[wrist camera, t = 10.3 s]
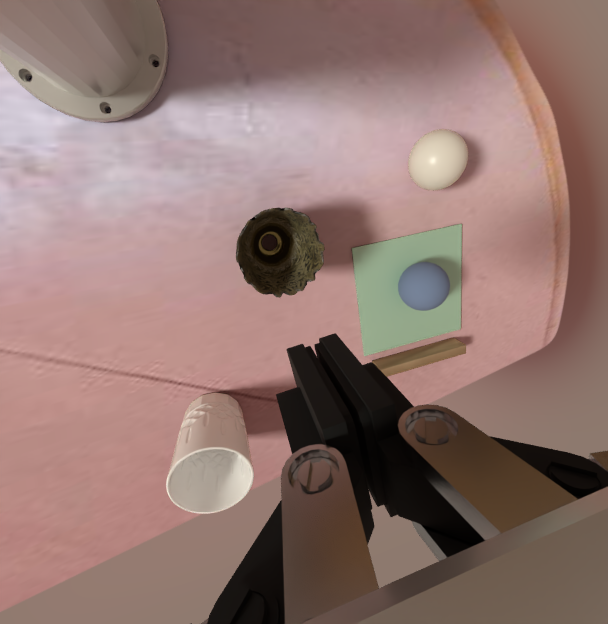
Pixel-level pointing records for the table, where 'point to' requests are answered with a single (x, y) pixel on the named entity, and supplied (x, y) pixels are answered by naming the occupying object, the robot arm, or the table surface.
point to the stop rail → (420, 356)
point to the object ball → (424, 286)
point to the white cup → (211, 456)
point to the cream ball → (438, 159)
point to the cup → (280, 252)
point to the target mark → (385, 297)
